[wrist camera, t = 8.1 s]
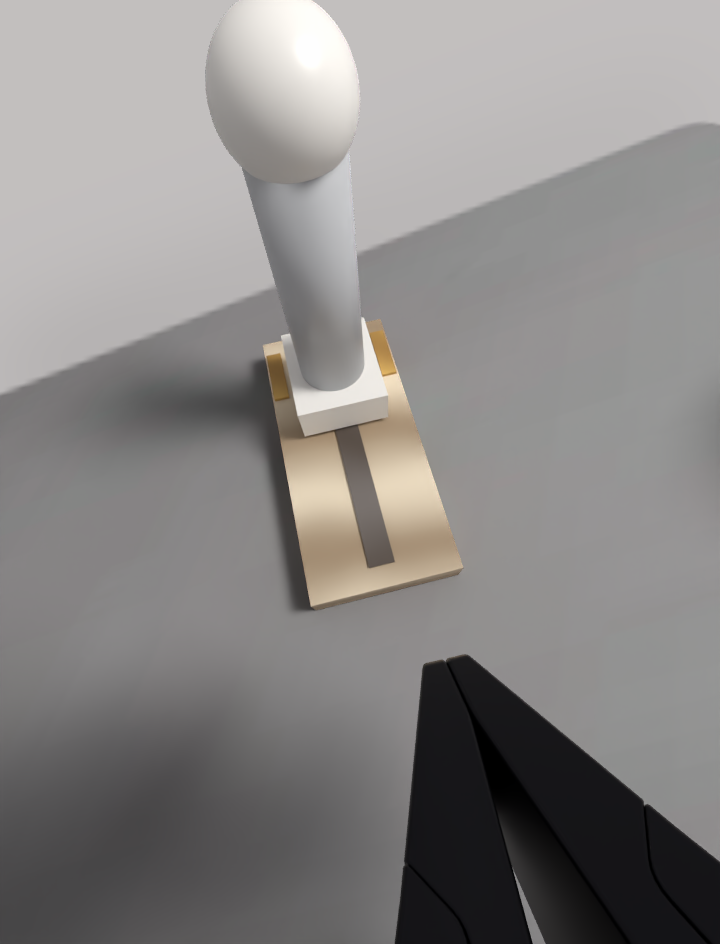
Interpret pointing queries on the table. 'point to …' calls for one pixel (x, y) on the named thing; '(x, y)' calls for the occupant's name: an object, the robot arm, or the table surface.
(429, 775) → the robot arm
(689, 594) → the table surface
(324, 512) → the fader track
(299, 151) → the lever
